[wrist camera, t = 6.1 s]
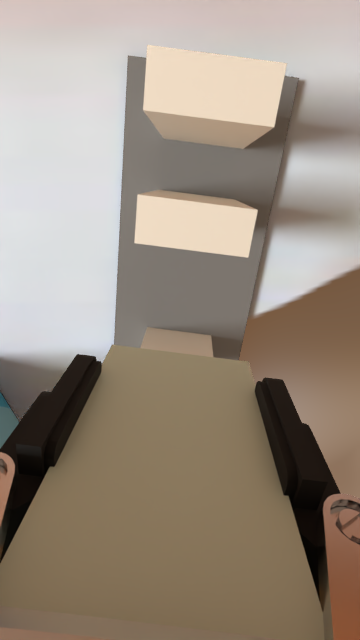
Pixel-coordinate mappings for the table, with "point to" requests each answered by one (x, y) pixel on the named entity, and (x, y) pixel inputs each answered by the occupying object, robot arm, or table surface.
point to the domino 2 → (194, 222)
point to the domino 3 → (177, 342)
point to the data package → (6, 420)
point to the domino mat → (186, 265)
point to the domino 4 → (167, 508)
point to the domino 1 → (211, 96)
